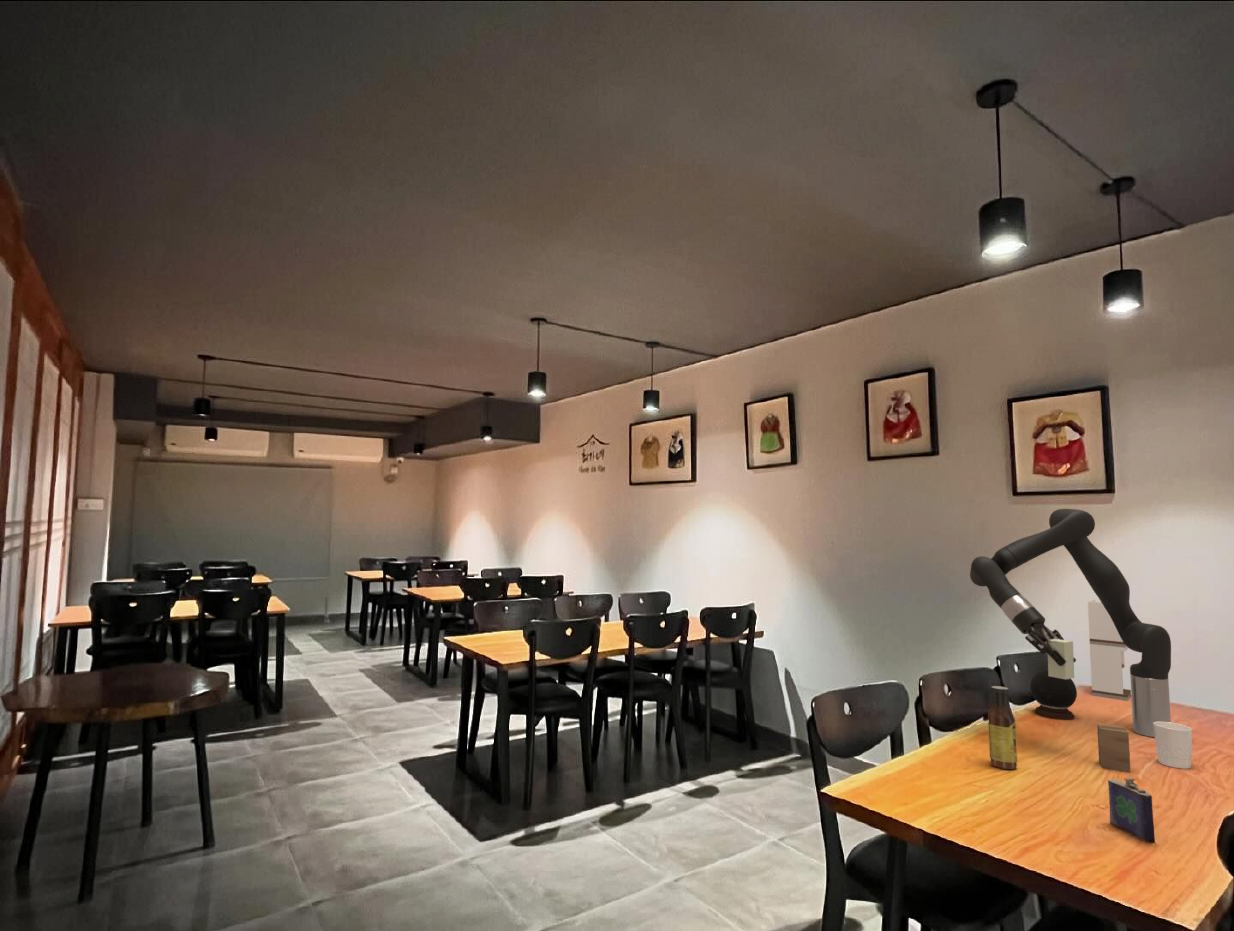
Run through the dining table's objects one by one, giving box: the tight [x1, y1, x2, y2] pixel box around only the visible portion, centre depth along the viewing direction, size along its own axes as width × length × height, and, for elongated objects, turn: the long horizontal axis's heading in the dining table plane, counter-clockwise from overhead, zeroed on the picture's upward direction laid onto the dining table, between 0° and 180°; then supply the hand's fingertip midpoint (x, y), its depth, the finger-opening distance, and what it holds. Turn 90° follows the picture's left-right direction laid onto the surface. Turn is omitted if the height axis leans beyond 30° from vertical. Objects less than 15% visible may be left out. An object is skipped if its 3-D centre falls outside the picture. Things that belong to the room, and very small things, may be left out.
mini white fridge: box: [1087, 599, 1131, 701], centre depth 254 cm, size 11×11×35 cm
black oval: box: [1029, 668, 1078, 721], centre depth 223 cm, size 13×13×15 cm
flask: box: [1107, 777, 1156, 844], centre depth 136 cm, size 9×3×11 cm, turn 8°
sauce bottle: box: [987, 685, 1018, 770], centre depth 174 cm, size 7×6×20 cm
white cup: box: [1153, 722, 1193, 770], centre depth 177 cm, size 8×8×10 cm
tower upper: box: [1096, 722, 1130, 753], centre depth 174 cm, size 6×6×5 cm
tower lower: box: [1097, 742, 1132, 774], centre depth 174 cm, size 6×6×5 cm
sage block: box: [1047, 639, 1075, 679], centre depth 187 cm, size 4×4×10 cm
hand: (1068, 663), depth 185 cm, fingers closed on sage block, 4 cm apart
